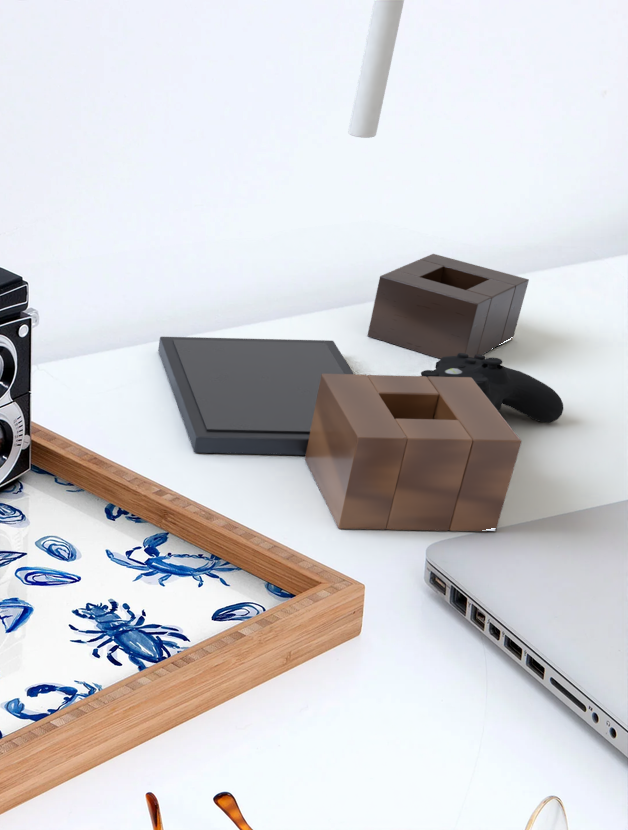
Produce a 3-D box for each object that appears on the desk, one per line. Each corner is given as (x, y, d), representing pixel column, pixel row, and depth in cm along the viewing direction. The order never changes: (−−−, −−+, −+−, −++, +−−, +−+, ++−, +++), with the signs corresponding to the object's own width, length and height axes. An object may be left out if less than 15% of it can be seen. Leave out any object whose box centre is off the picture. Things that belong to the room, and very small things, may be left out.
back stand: (419, 311, 100) (433, 253, 97) (513, 339, 96) (529, 279, 93) (366, 336, 96) (379, 275, 93) (462, 366, 92) (477, 303, 89)
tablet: (330, 355, 93) (333, 338, 92) (392, 457, 81) (397, 439, 80) (157, 351, 93) (160, 334, 92) (194, 453, 81) (196, 435, 80)
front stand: (449, 463, 80) (472, 376, 77) (496, 532, 74) (522, 440, 71) (304, 459, 80) (321, 373, 77) (338, 528, 74) (358, 437, 71)
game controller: (508, 454, 78) (424, 355, 79) (440, 507, 82) (361, 412, 83) (578, 403, 84) (500, 311, 85) (512, 454, 88) (438, 366, 89)
